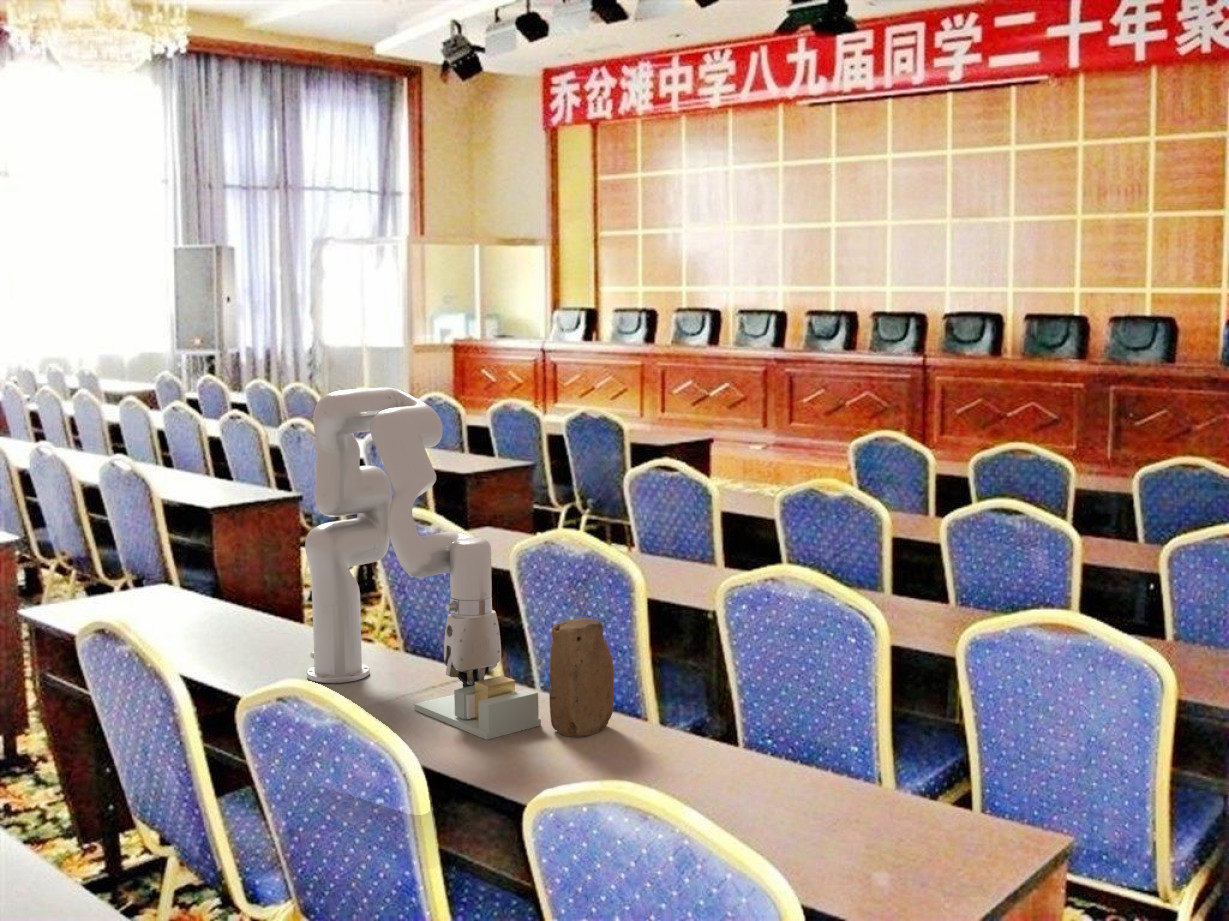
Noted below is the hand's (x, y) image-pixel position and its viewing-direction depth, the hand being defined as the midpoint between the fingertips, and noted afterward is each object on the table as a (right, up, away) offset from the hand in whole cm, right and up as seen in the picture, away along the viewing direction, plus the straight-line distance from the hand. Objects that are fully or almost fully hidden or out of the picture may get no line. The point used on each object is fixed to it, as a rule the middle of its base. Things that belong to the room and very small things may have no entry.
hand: (472, 702), depth 256 cm
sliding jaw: (+2, -1, -2) cm, 4 cm away
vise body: (+1, -3, -1) cm, 3 cm away
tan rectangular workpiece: (+5, -2, -5) cm, 7 cm away
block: (+21, -4, -8) cm, 22 cm away
